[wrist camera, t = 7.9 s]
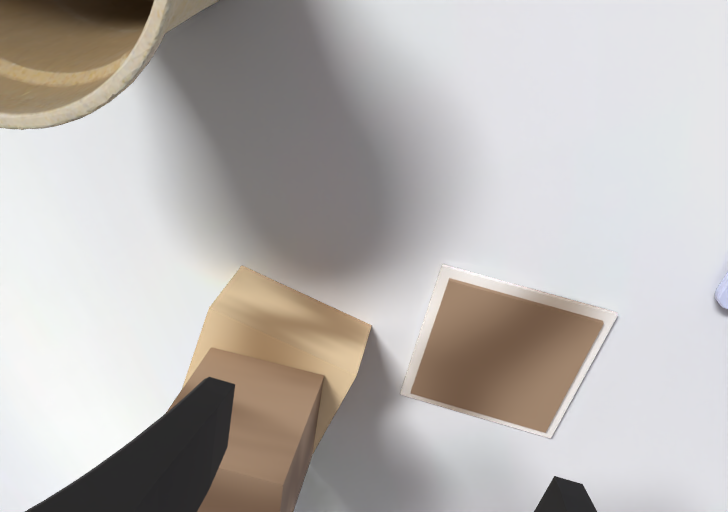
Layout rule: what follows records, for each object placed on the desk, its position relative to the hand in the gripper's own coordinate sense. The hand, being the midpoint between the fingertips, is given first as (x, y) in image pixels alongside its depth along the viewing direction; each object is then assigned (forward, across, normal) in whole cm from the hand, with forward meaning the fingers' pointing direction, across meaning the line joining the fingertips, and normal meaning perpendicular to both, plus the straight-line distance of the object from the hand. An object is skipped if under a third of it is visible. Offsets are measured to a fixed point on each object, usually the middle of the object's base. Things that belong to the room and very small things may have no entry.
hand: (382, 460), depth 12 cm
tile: (+10, -4, +4) cm, 12 cm away
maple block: (+11, +5, +7) cm, 13 cm away
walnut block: (+7, +4, +7) cm, 11 cm away
